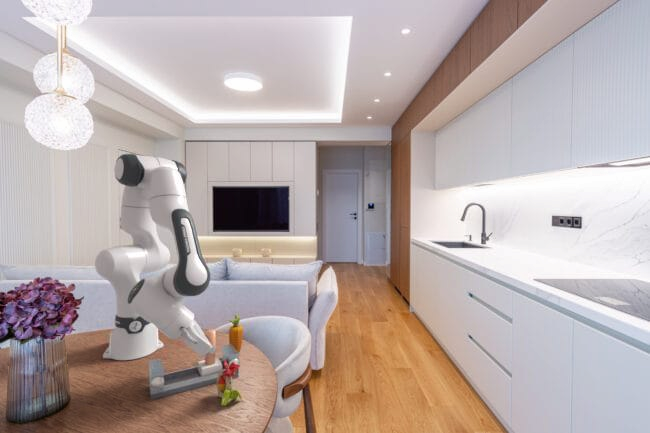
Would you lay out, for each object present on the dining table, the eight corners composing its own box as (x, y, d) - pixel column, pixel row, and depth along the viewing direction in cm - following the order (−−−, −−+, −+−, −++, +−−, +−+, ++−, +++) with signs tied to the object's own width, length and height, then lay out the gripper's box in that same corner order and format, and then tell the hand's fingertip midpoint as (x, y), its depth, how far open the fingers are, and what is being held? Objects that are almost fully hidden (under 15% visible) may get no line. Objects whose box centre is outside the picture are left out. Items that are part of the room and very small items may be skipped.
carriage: (197, 370, 99) (198, 329, 99) (217, 365, 102) (218, 326, 102) (201, 378, 94) (202, 335, 94) (222, 373, 97) (222, 332, 97)
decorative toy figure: (210, 409, 86) (226, 409, 80) (203, 366, 89) (218, 363, 83) (230, 399, 90) (247, 399, 85) (223, 359, 93) (239, 356, 88)
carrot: (238, 362, 108) (239, 318, 108) (225, 360, 109) (226, 317, 109) (245, 355, 113) (245, 314, 113) (232, 354, 114) (233, 313, 114)
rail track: (148, 386, 93) (149, 360, 92) (231, 366, 106) (231, 343, 105) (150, 401, 85) (151, 373, 85) (239, 377, 98) (239, 353, 98)
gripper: (193, 325, 85) (229, 353, 91) (181, 305, 102) (212, 329, 108) (175, 344, 83) (213, 372, 88) (166, 321, 100) (198, 345, 106)
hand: (212, 348), depth 98 cm, fingers closed on carriage, 3 cm apart
